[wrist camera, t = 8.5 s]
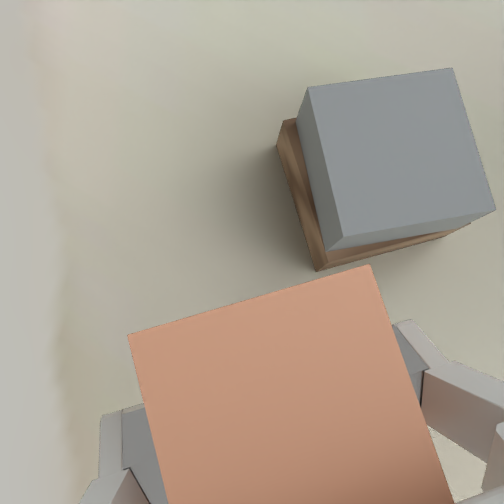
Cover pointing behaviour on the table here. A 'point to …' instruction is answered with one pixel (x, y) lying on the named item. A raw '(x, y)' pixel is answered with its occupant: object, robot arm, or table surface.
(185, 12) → the table surface
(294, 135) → the walnut slab
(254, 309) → the terracotta block
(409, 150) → the charcoal slab
